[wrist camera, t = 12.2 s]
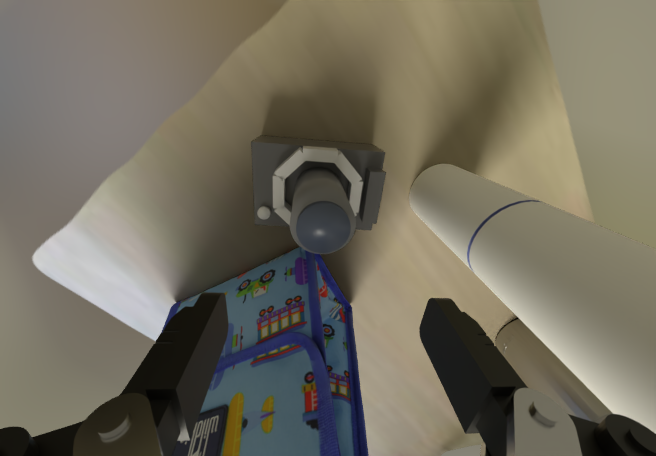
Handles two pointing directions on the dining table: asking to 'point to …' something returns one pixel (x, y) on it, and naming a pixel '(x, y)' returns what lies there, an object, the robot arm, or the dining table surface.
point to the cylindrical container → (556, 280)
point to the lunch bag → (282, 367)
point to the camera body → (301, 154)
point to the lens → (321, 212)
